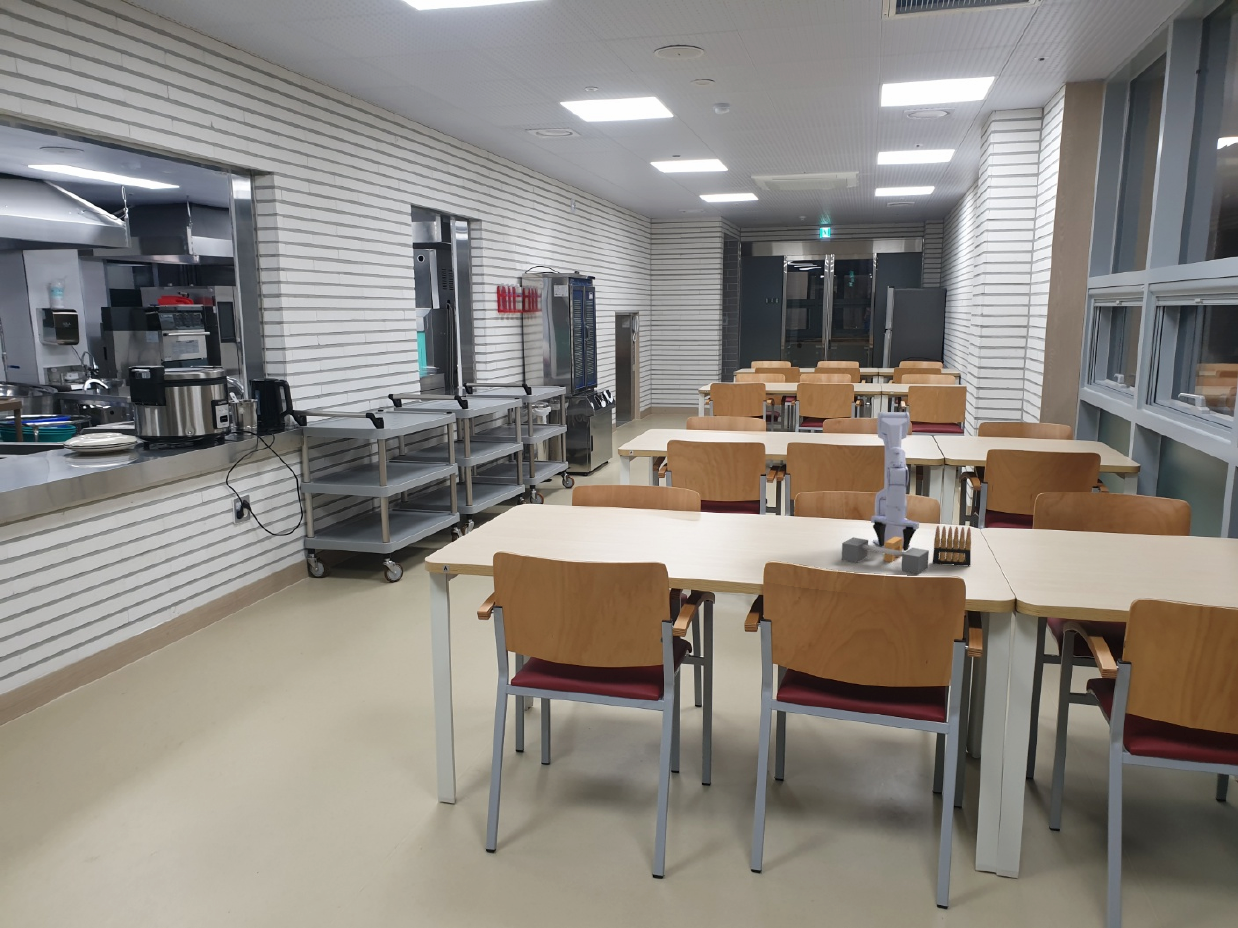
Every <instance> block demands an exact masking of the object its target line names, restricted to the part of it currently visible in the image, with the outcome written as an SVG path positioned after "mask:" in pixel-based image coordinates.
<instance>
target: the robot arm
mask: <svg viewBox="0 0 1238 928" xmlns="http://www.w3.org/2000/svg"><path fill="white" fill-rule="evenodd" d="M910 421H911V419H910V413H909V412H908V411H904V412H903V411H902V412H901V411H899V412H897V411H895V412H893V411H891V412H890V411H889V412H887V411H884V412H883V411H879V412H877V420H876V422H877V423H876V426H877V427H876V428H877V434H876V435H877V436H878V438H879V439H881V440H882V441H883V445H884V478H883V479H884V481H883V483H884V484H883V486H884V487H883V489H880V490H879V491H878V492H877V493H876V494H875V500H874V515H872V516H871V517H870V523H872V524H873V525H872V528H873V530H874V532H875V534H876V537H877V539H873V541H872V542H873V543H875V544H877V545H878V547H881V548H885V542H886V541H888V540H890V539H892V538H893V537H901V538H903V543H902V551H904V552H906V551H908V550H909V547H911V545H910V543H911V540H912V538H913V536H914V534H915V532H916V531H917V530H918V529H919V528H920V522H919V521H915V520H914V521H913V520H910V519H908V518H906V517H907V515H908V514H907V513H908V502H907V501H908V500H907V487H908V484H909V480H910V479H909V468H908V465H907V462H906V460H907V459H906V452H905V450H903V449H902V440H904V439H906V438H907V435H908V433H909V430H910Z"/></svg>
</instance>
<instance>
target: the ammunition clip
mask: <svg viewBox="0 0 1238 928" xmlns="http://www.w3.org/2000/svg"><path fill="white" fill-rule="evenodd" d="M940 530H941V534H940ZM971 530H972V529H971V527H970V526H968V528H967V531H965V527H964V526H962V527H961V529H960V535H959V528H958V526H956V527H955V528H954V533H953V528H952V526H951V525H950V526H949V528H948V533H947V528H946V526H945V525H943V527H942V529H940V526H939V525H937V526H936V528H935V535H934V538H933V539H934V540H933V541H934V542H933V555H932V564H933V565H942V564H954V565H953V566H957V565H968V566H967V567H970V566H969V565H971V557H972V556H971V554H972V553H971V551H972V532H971ZM965 532H966V533H965ZM940 535H941V536H940ZM965 535H966V537H965Z"/></svg>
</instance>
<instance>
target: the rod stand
mask: <svg viewBox="0 0 1238 928" xmlns="http://www.w3.org/2000/svg"><path fill="white" fill-rule="evenodd" d="M841 544H842V545H841V561H844V560H845V561H844V562H850V563H855V564H856V563H859V562H862V561H863V560H865V559H866V558H868V557H869V556H868V555H869V551H870V552H875V553H881V554H884V553H885V554H891V555H896V556H901V570H900V571H901V573H908V574H912V575H913V574H914V575H917V574H918V575H920V574H921V573H922V572H924V571H925V570H927V569H928V568H929V555H930V553H929V552H930V551H929V550H928V549H923V548H916V547H911V548H908V550H906V551H903V550H902V551H898V550H892V549H887V548H882V547H880V546H875V545H869V539H864V538H857V537H851V538H850V539H847V540H846V541H844V542H841Z"/></svg>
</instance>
